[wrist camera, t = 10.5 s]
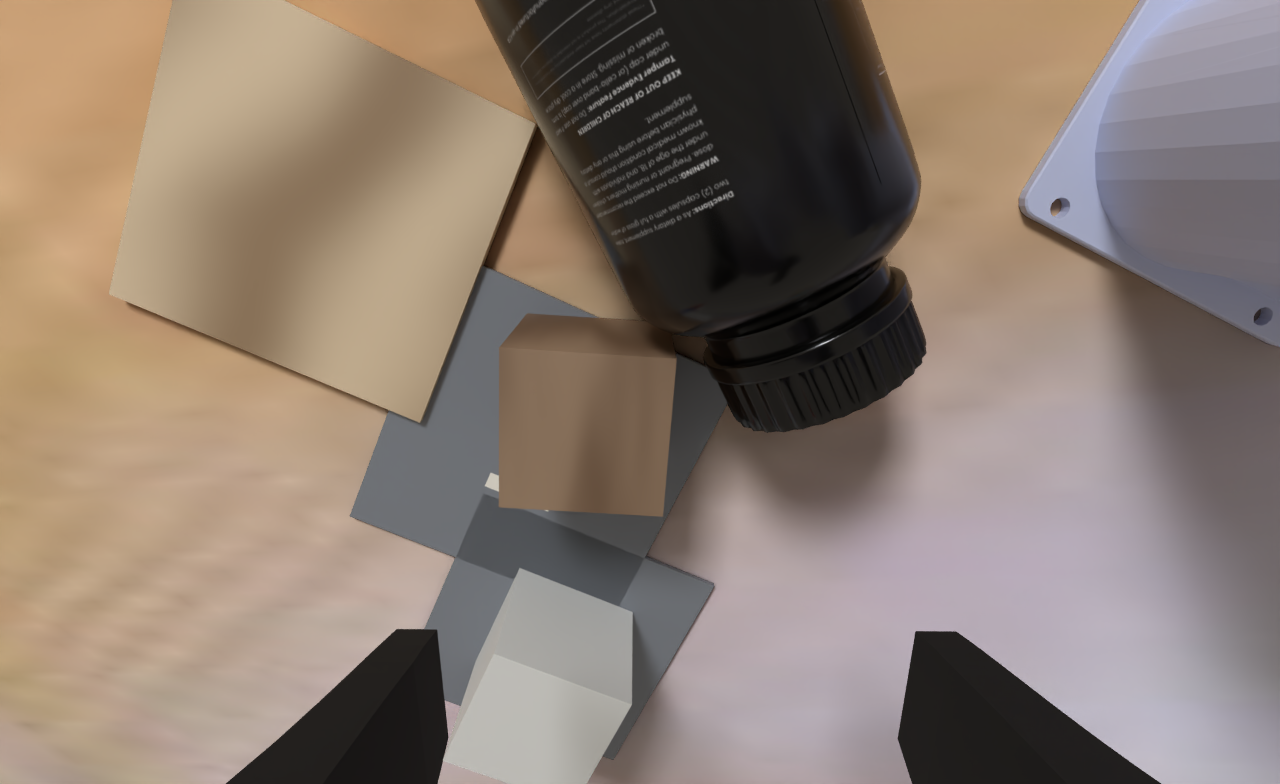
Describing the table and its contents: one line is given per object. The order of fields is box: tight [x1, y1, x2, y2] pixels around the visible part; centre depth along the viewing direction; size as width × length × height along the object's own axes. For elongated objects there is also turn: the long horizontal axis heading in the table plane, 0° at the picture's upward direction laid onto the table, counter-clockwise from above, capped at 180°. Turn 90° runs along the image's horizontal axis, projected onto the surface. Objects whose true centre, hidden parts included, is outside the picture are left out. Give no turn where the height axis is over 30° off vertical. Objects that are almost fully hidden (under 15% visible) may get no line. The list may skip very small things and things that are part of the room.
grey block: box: [443, 568, 633, 784], centre depth 20 cm, size 4×4×4 cm
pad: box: [109, 0, 538, 423], centre depth 18 cm, size 9×9×1 cm
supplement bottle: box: [475, 0, 926, 433], centre depth 14 cm, size 7×7×12 cm
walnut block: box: [499, 313, 677, 517], centre depth 17 cm, size 4×4×4 cm
